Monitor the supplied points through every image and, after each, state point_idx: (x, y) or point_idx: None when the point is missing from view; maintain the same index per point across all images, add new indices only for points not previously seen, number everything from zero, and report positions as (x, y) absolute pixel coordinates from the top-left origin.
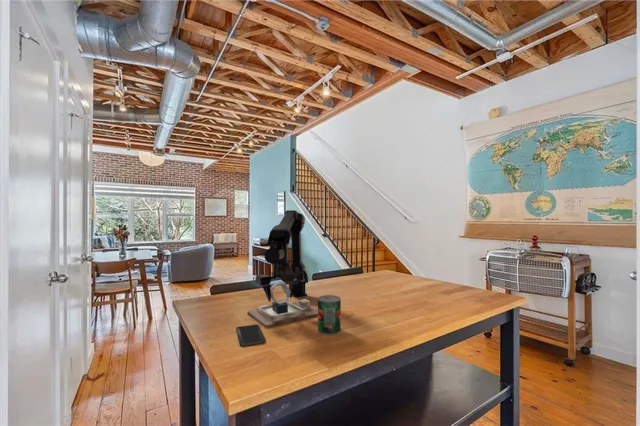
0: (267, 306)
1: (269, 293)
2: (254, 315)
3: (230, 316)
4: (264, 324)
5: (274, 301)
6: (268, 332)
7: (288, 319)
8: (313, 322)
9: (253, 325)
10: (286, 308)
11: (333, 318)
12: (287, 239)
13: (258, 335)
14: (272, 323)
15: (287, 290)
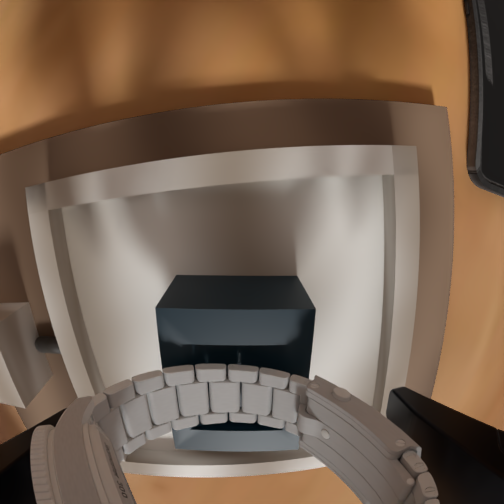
0: (306, 453)
1: (480, 441)
2: (431, 361)
3: (482, 414)
4: (448, 141)
5: (337, 386)
6: (435, 40)
7: (233, 122)
8: (66, 48)
9: (496, 185)
10: (184, 289)
11: None
12: None
13: (491, 25)
14: (400, 109)
15: (81, 459)
